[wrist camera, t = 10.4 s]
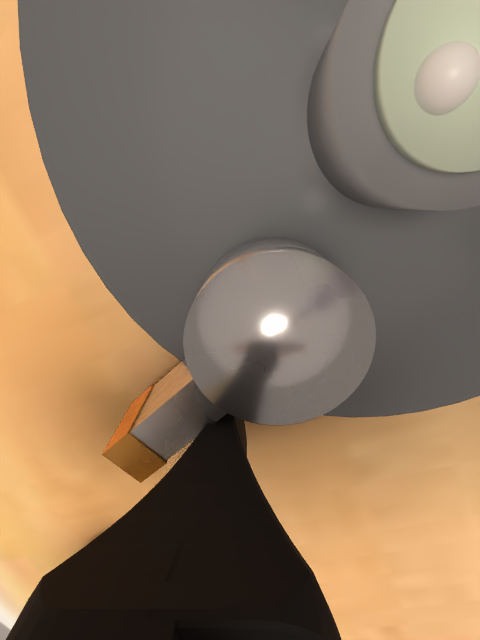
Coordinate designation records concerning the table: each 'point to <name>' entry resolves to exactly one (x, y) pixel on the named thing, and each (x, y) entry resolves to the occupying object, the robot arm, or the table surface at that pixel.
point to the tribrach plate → (275, 160)
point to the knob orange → (254, 352)
